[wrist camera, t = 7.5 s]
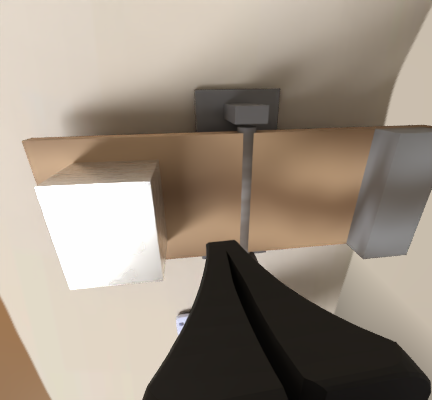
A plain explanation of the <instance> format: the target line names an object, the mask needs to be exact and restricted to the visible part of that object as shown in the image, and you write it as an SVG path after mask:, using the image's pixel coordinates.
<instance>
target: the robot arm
mask: <svg viewBox="0 0 432 400" xmlns="http://www.w3.org/2000/svg"><path fill="white" fill-rule="evenodd" d="M181 322H182V323H181ZM176 323H177V331H178V337H177V339H176V341H175V343H174V344H173V346H172V348H171V350H170V352H169V353H168V355H167V357H166V358H165V360H164V361H163V363H162V365H161V366H160V368H159V369H158V371H157V372H156V374H155V375H154V377H153V378H152V380H151V381H150V383H149V384H148V386H147V388H146V391H145V394H144V397H143V399H142V400H428V398H429V396H430V393H431V383H430V380H429V379H428V377H427V376H426V375H425V374H424V372H423V371H422V370H421V369H420V368H419V367H418V366H417V365H416V363H415V362H414V361H413V360H412V359H411V358H410V357H409V356H408V354H407V353H406V352H405V351H404V350H403V349H402V348H401V347H400V346H399V345H398V344H397V343H396V342H393V341H392V340H389V339H387V338H384V337H382V336H380V335H377V334H375V333H373V332H370V331H368V330H365V329H363V328H360V327H358V326H356V325H354V324H352V323H350V322H348V321H346V320H344V319H342V318H340V317H338V316H336V315H334V314H332V313H330V312H328V311H326V310H324V309H322V308H321V307H319V306H317V305H316V304H314V303H312V302H310V301H309V300H307V299H305V298H304V297H302V296H301V295H299V294H297V293H296V292H295V291H293V290H292V289H290V288H289V287H287V286H286V285H284V284H283V283H282V282H280V281H279V280H278V279H276V278H275V277H274V276H273V275H271V274H270V273H269V272H268V271H267V270H266V269H264V268H263V267H262V266H261V265H260V264H259V263H258V262H257V261H256V260H255V259H254V258H252V257H251V256H250V255H249V254H248V253H247V252H246V251H245V250H244V249H243V248H242V247H241V245H240V244H239V243H238V242H237V241H236V240H227V241H217V242H208V243H207V244H206V263H205V268H204V273H203V277H202V280H201V284H200V287H199V290H198V293H197V296H196V299H195V301H194V304H193V306H192V309H191V311H190V313H187V314H180V315H178V316H177V317H176Z"/></svg>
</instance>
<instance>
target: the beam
mask: <svg viewBox="0 0 432 400" xmlns="http://www.w3.org/2000/svg"><path fill="white" fill-rule="evenodd" d="M22 143H23V146H24V149H25V152H26V155H27V158H28V160H29V163H30V166H31V169H32V172H33V175H34V178H35V181H36V183H37V185H39V184H40V183H42V182H43V181H45V180H47V179H48V178H50V177H51V176H53V175H55V174H56V173H58V172H59V171H61V170H63V169H64V168H66V167H67V166H69V165H70V164H72V163H85V162H110V161H135V160H159V169H160V178H161V187H162V196H163V205H164V213H165V222H166V231H167V240H168V242H167V251H166V259H176V258H187V257H198V256H206V244H207V243H208V242H217V241H227V240H236V241H237V242H238V243H239V244H240V245H241V247H242V248H243V249H244V250H245V251H246V252H247V253H248V254H249V253H250V252H255V251H266V250H277V249H289V248H300V247H311V246H323V245H334V244H345V243H346V244H347V245H348V246H350V247H351V248H352V249H353V250H354V251H355V252H356V253H357V254H358V255H359V256H360V257H362V258H363V259H368V258H378V257H388V256H398V255H406V254H407V251H408V249H409V246H410V244H411V241H412V238H413V236H414V233H415V231H416V228H417V226H418V223H419V221H420V218H421V215H422V213H423V210H424V208H425V205H426V202H427V200H428V197H429V195H430V192H431V190H432V126H427V125H408V126H376V127H346V128H316V129H285V130H256V127H255V126H239V127H237V131H225V132H195V133H165V134H135V135H105V136H75V137H45V138H30V139H27V140H23V141H22Z"/></svg>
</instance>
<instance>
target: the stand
mask: <svg viewBox="0 0 432 400" xmlns="http://www.w3.org/2000/svg"><path fill="white" fill-rule="evenodd" d="M194 97H195V118H196V132H225V131H237V127H239V126H255V127H256V130H277V120H278V109H279V97H280V89H221V90H194ZM263 252H266V251H255V252H250V253H249V255H250V256H251V257H252V258H254V259H255V260H256V261H257V259H256V256H255V254H254V253H263ZM202 258H203V259H206V256H202ZM257 262H258V261H257Z"/></svg>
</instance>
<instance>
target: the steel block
mask: <svg viewBox="0 0 432 400" xmlns="http://www.w3.org/2000/svg"><path fill="white" fill-rule="evenodd" d="M35 190H36V193H37V196H38V199H39V202H40V205H41V207H42V210H43V213H44V216H45V219H46V222H47V225H48V227H49V230H50V233H51V236H52V239H53V242H54V245H55V247H56V250H57V253H58V256H59V259H60V262H61V265H62V267H63V270H64V273H65V276H66V279H67V282H68V285H69V287H70V290H72V289H82V288H93V287H103V286H114V285H124V284H135V283H145V282H156V281H163V278H164V269H165V260H166V251H167V242H168V240H167V231H166V222H165V213H164V205H163V196H162V187H161V178H160V169H159V160H135V161H110V162H85V163H72V164H70V165H69V166H67V167H66V168H64V169H63V170H61V171H59V172H58V173H56V174H55V175H53V176H51V177H50V178H48V179H47V180H45V181H43V182H42V183H40V184H39V185H37V186H35Z"/></svg>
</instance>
